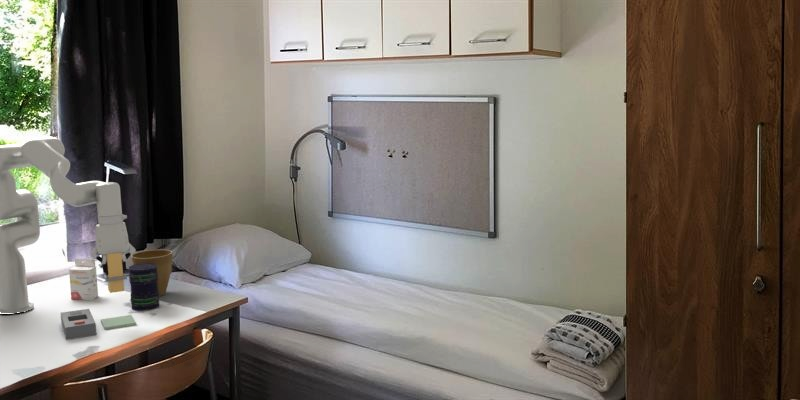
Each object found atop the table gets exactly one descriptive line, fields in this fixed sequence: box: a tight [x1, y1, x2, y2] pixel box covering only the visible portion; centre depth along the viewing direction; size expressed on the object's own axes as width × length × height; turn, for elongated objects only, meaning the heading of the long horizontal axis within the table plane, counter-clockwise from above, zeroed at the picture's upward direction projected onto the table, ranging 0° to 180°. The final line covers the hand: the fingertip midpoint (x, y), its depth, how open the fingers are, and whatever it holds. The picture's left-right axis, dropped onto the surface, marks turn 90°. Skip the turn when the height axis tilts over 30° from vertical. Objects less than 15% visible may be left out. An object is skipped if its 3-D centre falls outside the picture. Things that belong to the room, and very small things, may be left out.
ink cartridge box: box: [68, 258, 99, 301], centre depth 294 cm, size 9×5×15 cm, turn 84°
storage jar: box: [128, 263, 161, 312], centre depth 281 cm, size 10×10×15 cm
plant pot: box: [130, 249, 174, 297], centre depth 297 cm, size 15×15×16 cm
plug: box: [103, 253, 128, 294], centre depth 261 cm, size 6×6×13 cm
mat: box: [100, 314, 137, 331], centre depth 264 cm, size 10×10×1 cm
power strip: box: [60, 308, 97, 340], centre depth 258 cm, size 18×9×5 cm, turn 28°
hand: (114, 273), depth 261 cm, fingers closed on plug, 4 cm apart
